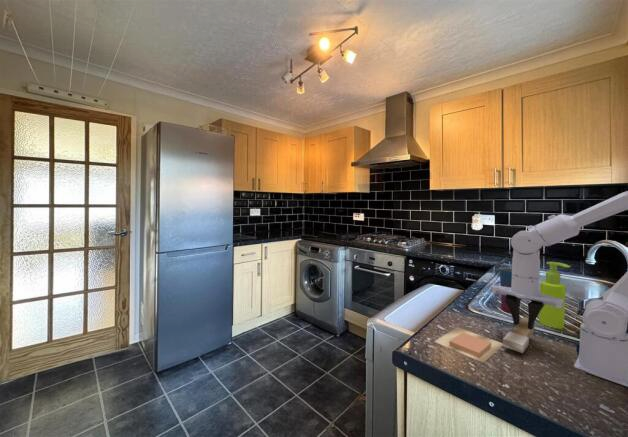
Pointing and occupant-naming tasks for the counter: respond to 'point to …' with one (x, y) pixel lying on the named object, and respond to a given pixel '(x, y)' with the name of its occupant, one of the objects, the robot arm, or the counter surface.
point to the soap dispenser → (554, 289)
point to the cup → (505, 285)
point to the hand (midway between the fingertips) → (523, 326)
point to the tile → (470, 344)
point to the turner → (519, 336)
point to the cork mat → (494, 344)
